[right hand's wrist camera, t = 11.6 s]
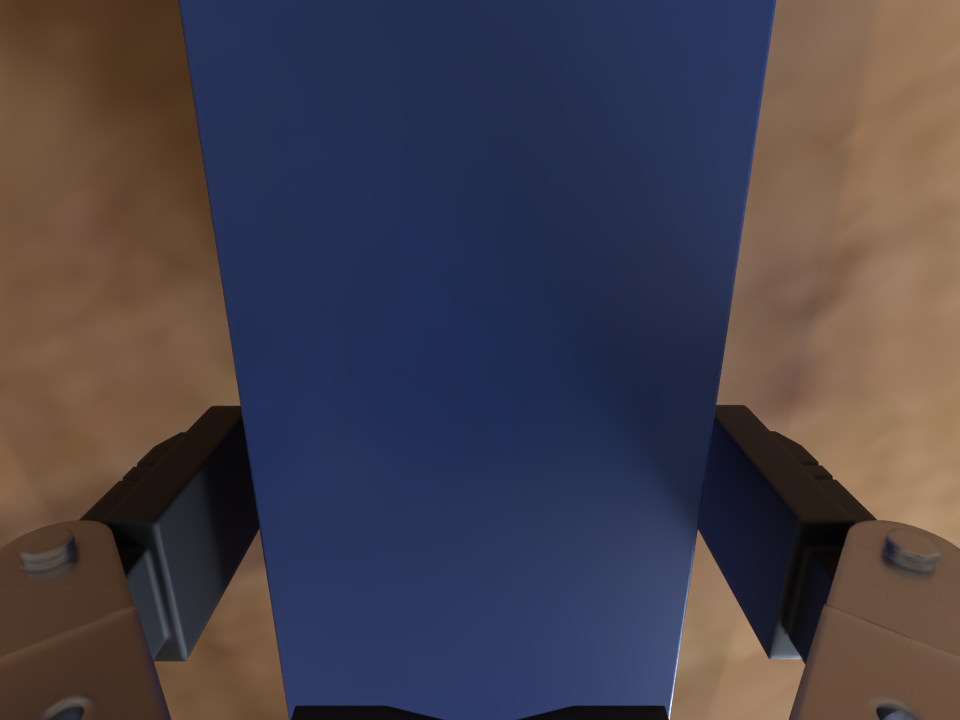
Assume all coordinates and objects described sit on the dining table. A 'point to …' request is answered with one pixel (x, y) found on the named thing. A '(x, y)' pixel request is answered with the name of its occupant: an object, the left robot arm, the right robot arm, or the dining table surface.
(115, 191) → the dining table surface
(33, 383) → the dining table surface
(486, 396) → the box
